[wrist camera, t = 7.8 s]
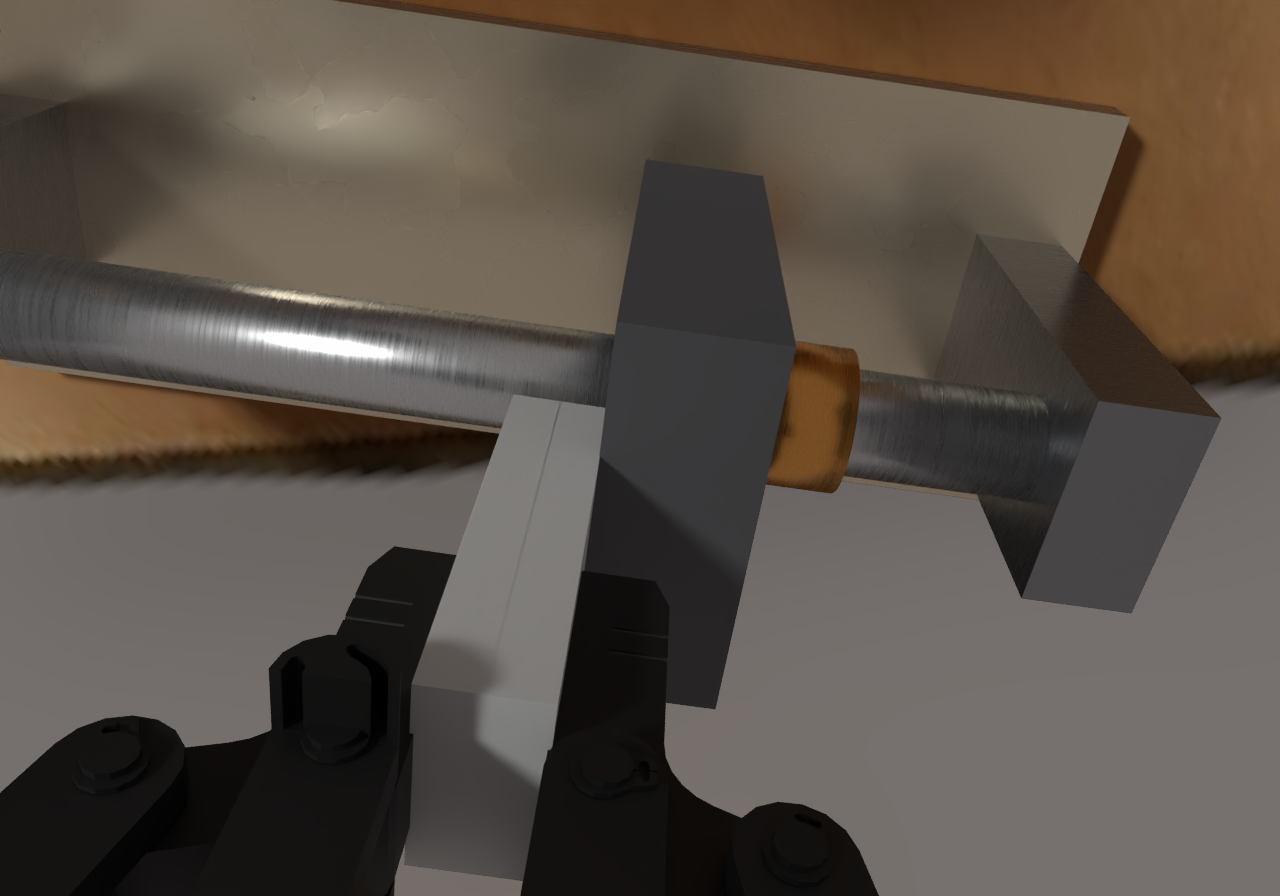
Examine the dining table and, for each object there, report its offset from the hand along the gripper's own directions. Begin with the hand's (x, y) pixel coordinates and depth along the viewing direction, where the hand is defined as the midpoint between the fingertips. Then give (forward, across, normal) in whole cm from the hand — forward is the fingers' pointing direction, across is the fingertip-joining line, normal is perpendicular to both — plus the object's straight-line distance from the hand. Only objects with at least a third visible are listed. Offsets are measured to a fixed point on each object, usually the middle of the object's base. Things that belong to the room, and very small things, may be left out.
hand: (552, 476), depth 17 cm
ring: (+7, +2, 0) cm, 7 cm away
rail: (+11, -2, 0) cm, 11 cm away
